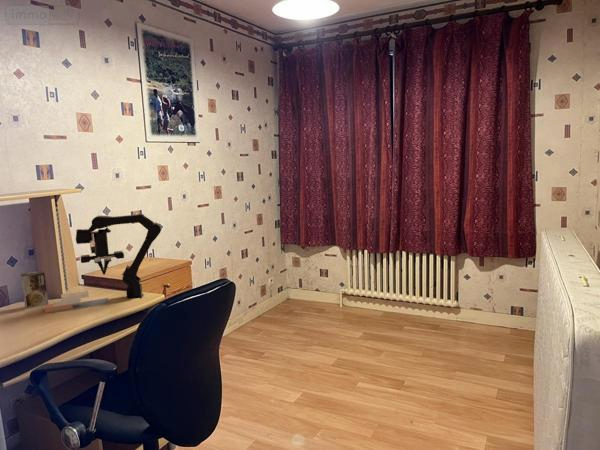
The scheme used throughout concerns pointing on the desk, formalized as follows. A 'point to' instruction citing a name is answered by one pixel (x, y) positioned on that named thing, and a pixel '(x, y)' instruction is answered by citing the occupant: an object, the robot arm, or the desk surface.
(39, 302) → the coffee box
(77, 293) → the domino
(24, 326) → the desk surface
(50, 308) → the domino
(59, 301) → the domino
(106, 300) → the mat
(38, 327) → the desk surface
